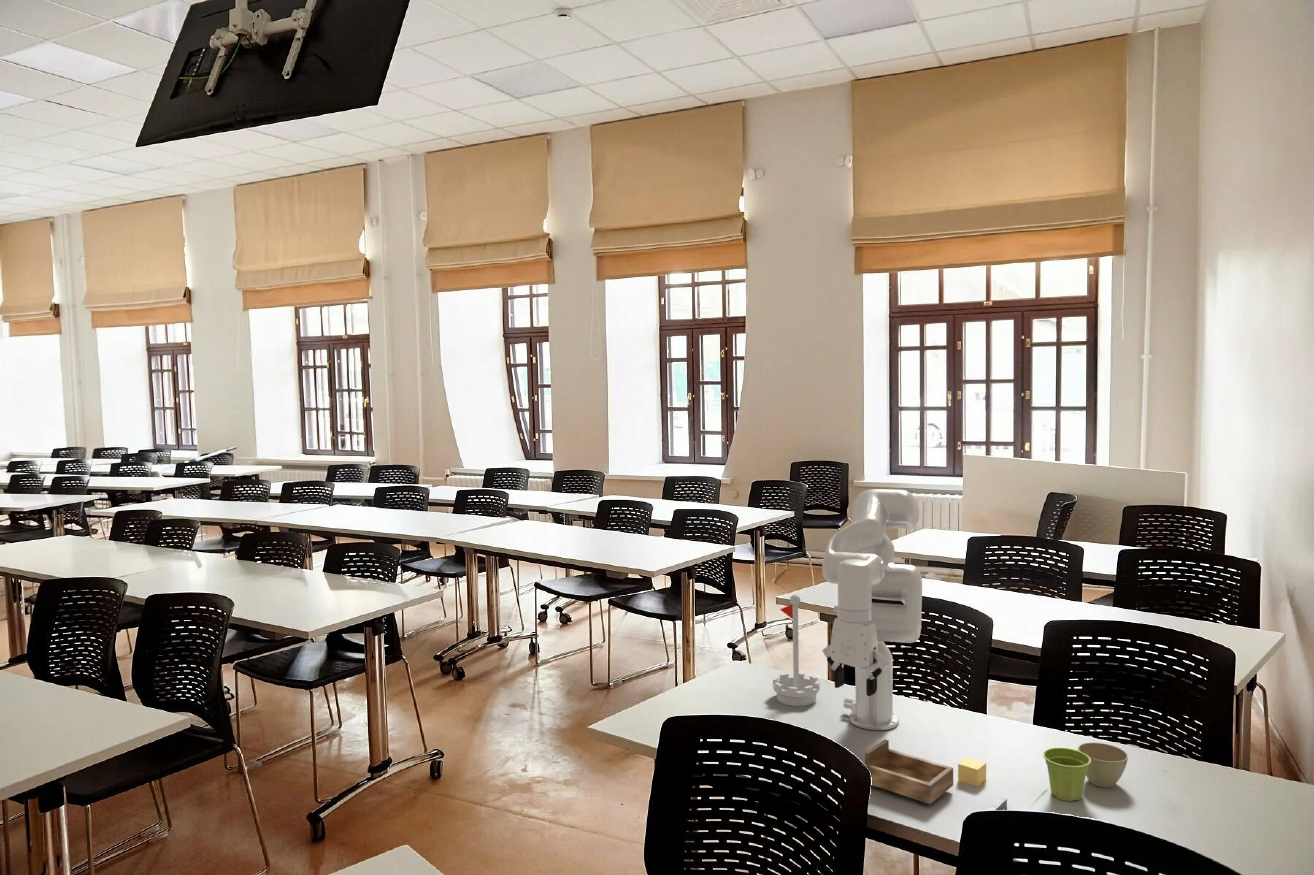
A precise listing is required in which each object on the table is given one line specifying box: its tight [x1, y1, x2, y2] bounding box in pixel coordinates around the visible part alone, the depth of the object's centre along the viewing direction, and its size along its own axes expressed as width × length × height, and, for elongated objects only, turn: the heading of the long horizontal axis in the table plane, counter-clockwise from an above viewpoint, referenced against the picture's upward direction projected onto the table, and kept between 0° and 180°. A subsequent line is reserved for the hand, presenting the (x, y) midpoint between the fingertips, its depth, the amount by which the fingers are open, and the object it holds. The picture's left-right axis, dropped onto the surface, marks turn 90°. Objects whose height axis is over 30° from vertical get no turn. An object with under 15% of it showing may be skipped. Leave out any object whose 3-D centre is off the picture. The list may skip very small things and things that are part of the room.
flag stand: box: [772, 593, 821, 707], centre depth 257 cm, size 13×13×30 cm
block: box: [957, 756, 987, 788], centre depth 205 cm, size 4×4×4 cm
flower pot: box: [1077, 742, 1129, 789], centre depth 203 cm, size 10×10×7 cm
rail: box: [987, 797, 1008, 810], centre depth 197 cm, size 28×11×2 cm, turn 47°
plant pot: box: [1042, 747, 1091, 802], centre depth 198 cm, size 9×9×9 cm
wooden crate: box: [863, 739, 954, 806], centre depth 201 cm, size 16×11×8 cm
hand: (855, 690), depth 209 cm, fingers open, 7 cm apart
